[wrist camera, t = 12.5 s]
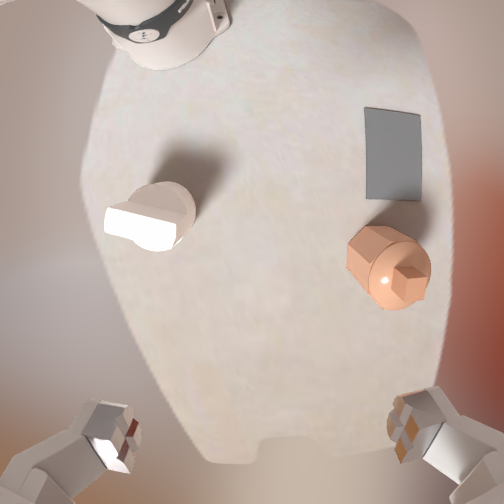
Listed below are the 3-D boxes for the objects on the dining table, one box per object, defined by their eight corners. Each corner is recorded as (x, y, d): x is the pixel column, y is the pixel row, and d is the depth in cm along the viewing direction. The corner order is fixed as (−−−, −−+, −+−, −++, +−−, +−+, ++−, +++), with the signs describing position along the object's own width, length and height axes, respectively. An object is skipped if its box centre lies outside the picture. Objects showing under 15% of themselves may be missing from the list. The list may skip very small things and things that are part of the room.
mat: (364, 108, 38) (365, 107, 38) (418, 115, 38) (420, 115, 38) (365, 198, 42) (366, 199, 42) (419, 200, 42) (420, 200, 42)
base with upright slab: (135, 232, 44) (100, 255, 33) (145, 175, 42) (110, 181, 30) (189, 246, 45) (168, 274, 33) (202, 188, 42) (183, 197, 31)
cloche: (348, 225, 44) (386, 252, 30) (402, 225, 44) (451, 249, 30) (344, 284, 46) (376, 328, 33) (396, 280, 46) (438, 319, 33)
